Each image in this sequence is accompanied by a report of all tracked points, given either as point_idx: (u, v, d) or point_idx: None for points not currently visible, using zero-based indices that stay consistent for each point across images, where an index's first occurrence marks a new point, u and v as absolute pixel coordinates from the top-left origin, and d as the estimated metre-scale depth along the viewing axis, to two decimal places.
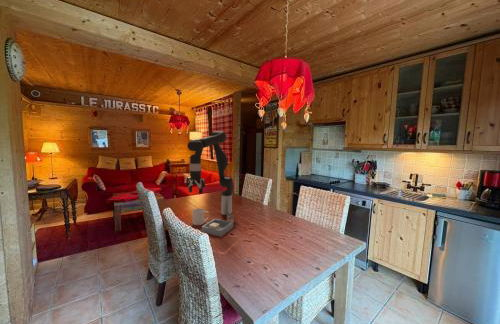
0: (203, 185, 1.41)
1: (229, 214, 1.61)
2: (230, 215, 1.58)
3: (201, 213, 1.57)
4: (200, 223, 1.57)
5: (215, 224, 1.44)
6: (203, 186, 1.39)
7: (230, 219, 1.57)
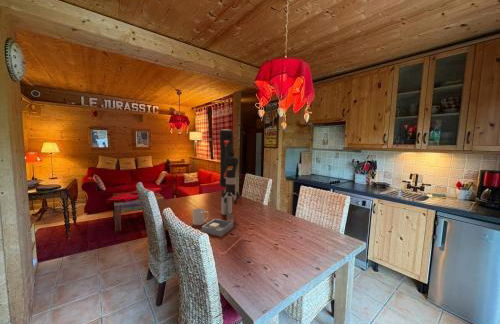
0: None
1: (229, 214, 1.61)
2: (230, 215, 1.58)
3: (201, 213, 1.57)
4: (200, 223, 1.57)
5: (215, 224, 1.44)
6: (238, 198, 1.54)
7: (230, 219, 1.57)
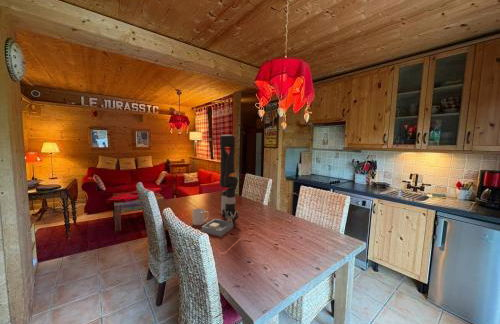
0: None
1: None
2: None
3: (201, 213, 1.57)
4: (200, 223, 1.57)
5: (215, 224, 1.44)
6: (236, 218, 1.56)
7: (230, 219, 1.57)
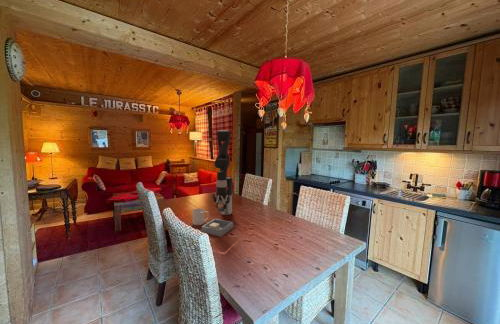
0: None
1: None
2: (221, 200, 1.49)
3: (201, 213, 1.57)
4: (200, 223, 1.57)
5: (215, 224, 1.44)
6: (227, 202, 1.48)
7: (221, 203, 1.48)
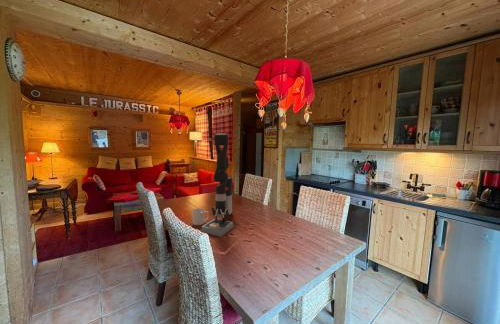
0: None
1: None
2: (220, 213, 1.50)
3: (201, 213, 1.57)
4: (200, 223, 1.57)
5: (215, 224, 1.44)
6: (226, 216, 1.48)
7: (220, 217, 1.49)
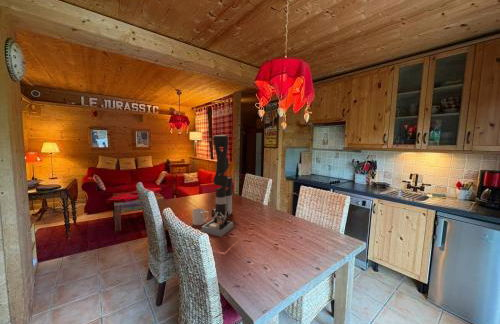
0: None
1: (219, 216, 1.53)
2: (220, 217, 1.50)
3: (201, 213, 1.57)
4: (200, 223, 1.57)
5: (215, 224, 1.44)
6: (228, 218, 1.48)
7: (220, 221, 1.49)
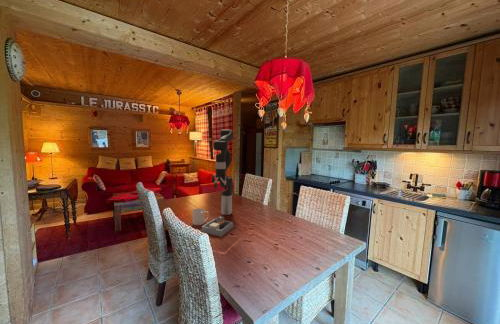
0: None
1: (219, 216, 1.53)
2: (220, 217, 1.50)
3: (201, 213, 1.57)
4: (200, 223, 1.57)
5: (215, 224, 1.44)
6: (228, 183, 1.51)
7: (220, 221, 1.49)
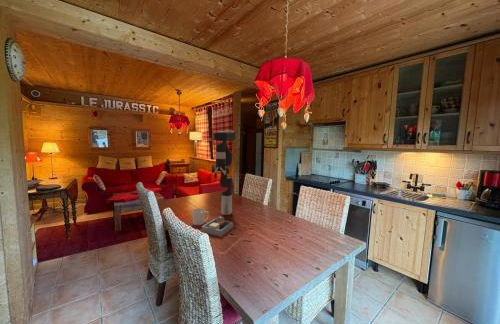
0: None
1: (219, 216, 1.53)
2: (220, 217, 1.50)
3: (201, 213, 1.57)
4: (200, 223, 1.57)
5: (215, 224, 1.44)
6: (228, 172, 1.54)
7: (220, 221, 1.49)
